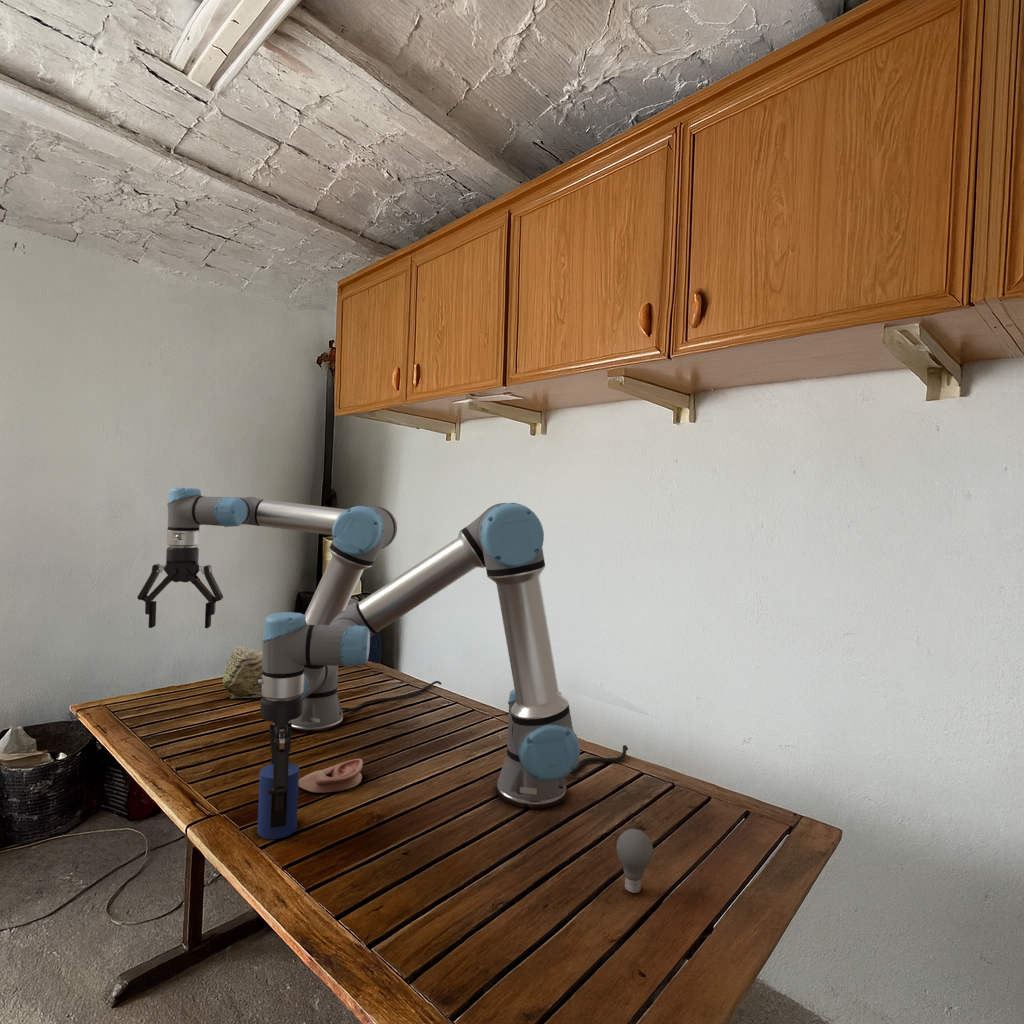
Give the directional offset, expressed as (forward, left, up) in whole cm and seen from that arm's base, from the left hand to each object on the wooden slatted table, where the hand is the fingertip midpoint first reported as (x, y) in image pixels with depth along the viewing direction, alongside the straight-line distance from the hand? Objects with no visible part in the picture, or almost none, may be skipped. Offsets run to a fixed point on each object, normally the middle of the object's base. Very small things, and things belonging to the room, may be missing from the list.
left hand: (180, 627), depth 167 cm
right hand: (+9, +64, -24) cm, 69 cm away
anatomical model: (-9, +54, -27) cm, 61 cm away
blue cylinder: (+9, +64, -27) cm, 70 cm away
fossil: (-29, -13, -27) cm, 42 cm away
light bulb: (-20, +123, -27) cm, 128 cm away
